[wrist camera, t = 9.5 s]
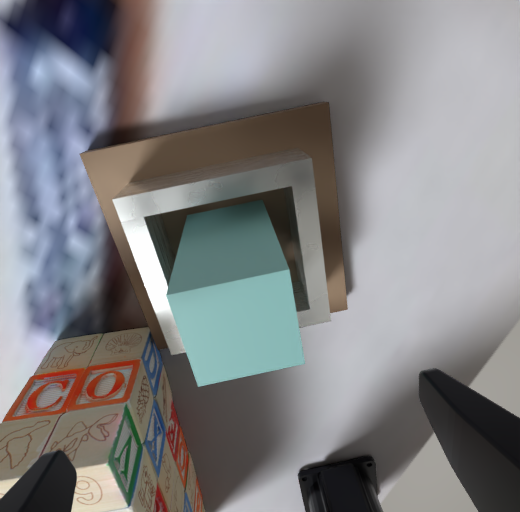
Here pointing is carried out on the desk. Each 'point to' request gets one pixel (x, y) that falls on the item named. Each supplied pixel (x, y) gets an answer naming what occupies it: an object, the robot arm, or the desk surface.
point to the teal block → (234, 295)
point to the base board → (216, 152)
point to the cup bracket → (217, 189)
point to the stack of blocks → (104, 426)
